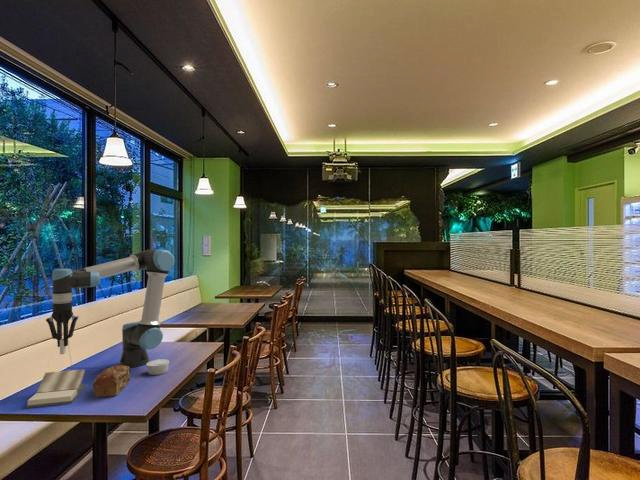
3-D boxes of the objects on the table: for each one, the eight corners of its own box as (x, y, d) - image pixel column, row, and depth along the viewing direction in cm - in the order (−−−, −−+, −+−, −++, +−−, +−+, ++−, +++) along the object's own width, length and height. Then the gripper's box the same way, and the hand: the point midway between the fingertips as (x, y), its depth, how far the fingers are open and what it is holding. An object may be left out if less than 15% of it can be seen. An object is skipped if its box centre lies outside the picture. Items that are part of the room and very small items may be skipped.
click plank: (84, 372, 188) (84, 369, 187) (78, 391, 179) (77, 388, 178) (46, 375, 184) (45, 372, 183) (37, 395, 175) (36, 392, 174)
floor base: (86, 386, 189) (86, 380, 189) (72, 403, 170) (72, 395, 170) (46, 390, 185) (46, 383, 185) (26, 408, 165) (26, 400, 165)
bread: (117, 397, 176) (116, 374, 176) (91, 398, 175) (91, 375, 175) (131, 382, 194) (131, 361, 194) (108, 383, 193) (108, 362, 193)
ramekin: (146, 377, 201) (146, 366, 201) (146, 370, 211) (146, 360, 211) (169, 373, 205) (169, 363, 205) (168, 367, 215) (168, 357, 215)
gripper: (42, 304, 178) (43, 356, 178) (75, 302, 181) (75, 354, 181) (49, 301, 185) (50, 352, 185) (80, 300, 189) (81, 350, 188)
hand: (62, 353), depth 183 cm, fingers closed
